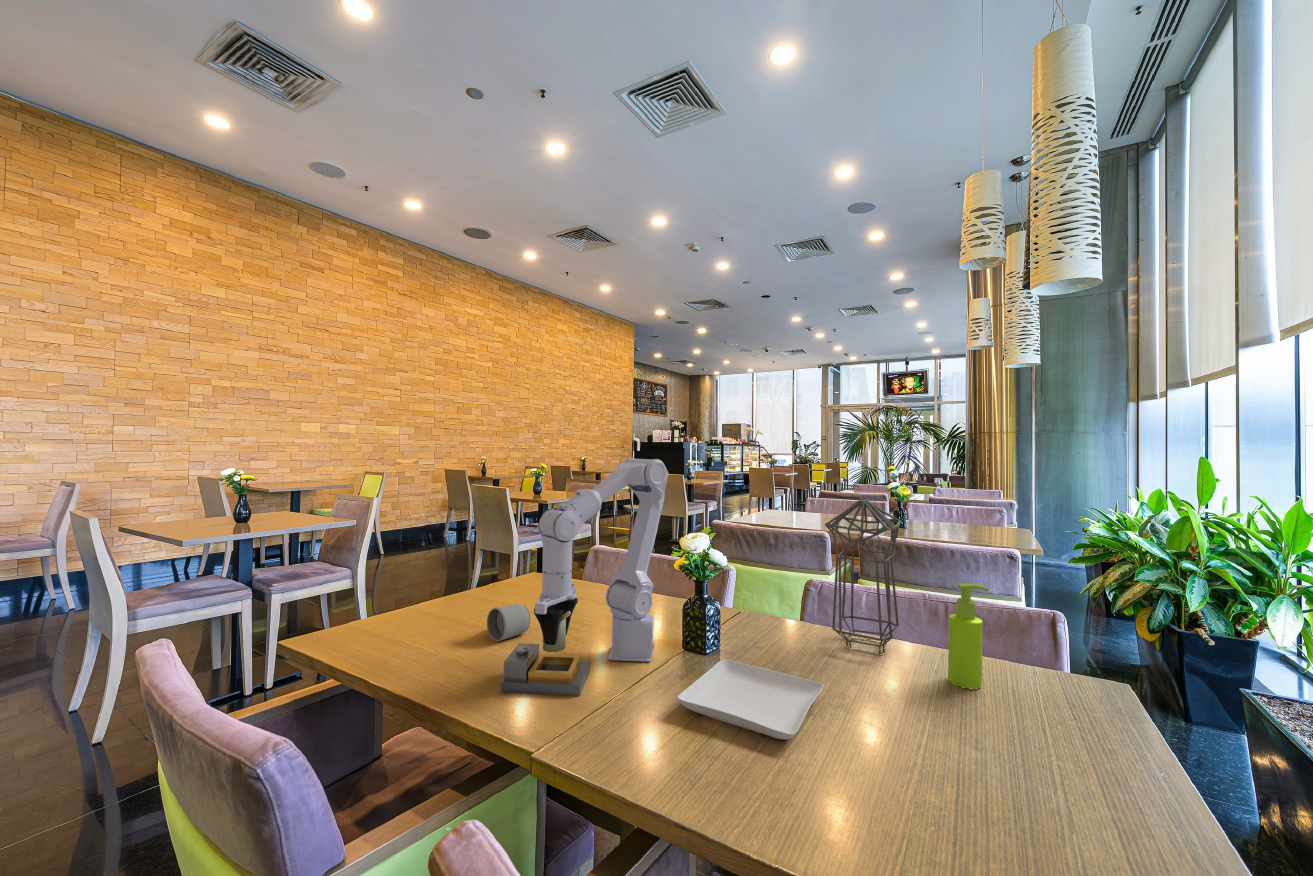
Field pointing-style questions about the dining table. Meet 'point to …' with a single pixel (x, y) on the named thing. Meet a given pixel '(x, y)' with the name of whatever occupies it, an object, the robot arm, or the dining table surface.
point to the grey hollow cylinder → (508, 621)
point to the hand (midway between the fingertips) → (555, 639)
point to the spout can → (559, 636)
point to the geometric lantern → (894, 529)
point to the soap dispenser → (965, 641)
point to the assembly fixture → (543, 672)
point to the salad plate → (752, 698)
